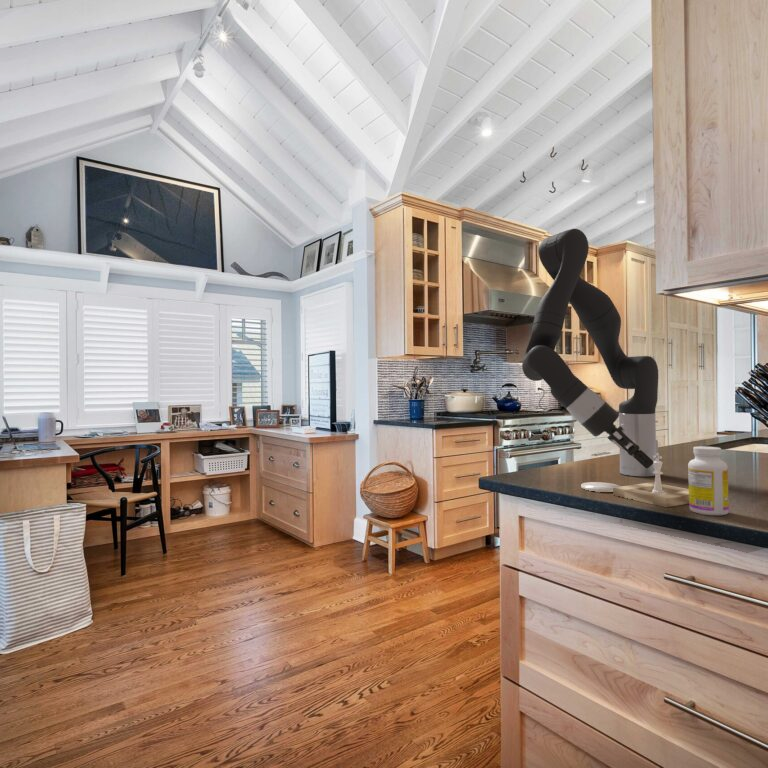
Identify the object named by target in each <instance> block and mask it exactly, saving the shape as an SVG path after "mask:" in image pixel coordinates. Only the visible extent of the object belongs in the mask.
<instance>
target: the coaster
mask: <svg viewBox="0 0 768 768" xmlns="http://www.w3.org/2000/svg"><path fill="white" fill-rule="evenodd" d="M614 487H621V485H619V484H615V483H611V482H601V481H590V482H589V481H588V482H582V483H581V485H580V488H581V489H582V488H583V489H585V490H584V491H586V490H589V491H588V492H591V491H595V492H594V493H600V492H613V488H614ZM583 489H582V490H583Z"/></svg>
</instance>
